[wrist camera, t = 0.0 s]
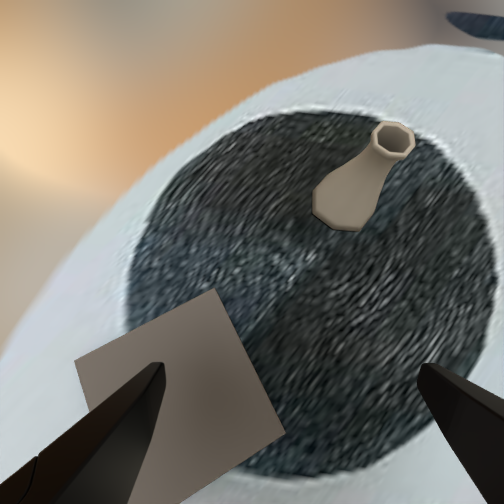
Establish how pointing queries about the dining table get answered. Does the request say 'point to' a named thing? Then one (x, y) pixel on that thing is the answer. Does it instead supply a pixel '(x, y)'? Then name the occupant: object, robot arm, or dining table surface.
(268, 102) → the dining table surface
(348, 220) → the flask
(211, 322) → the grey-brown square block
